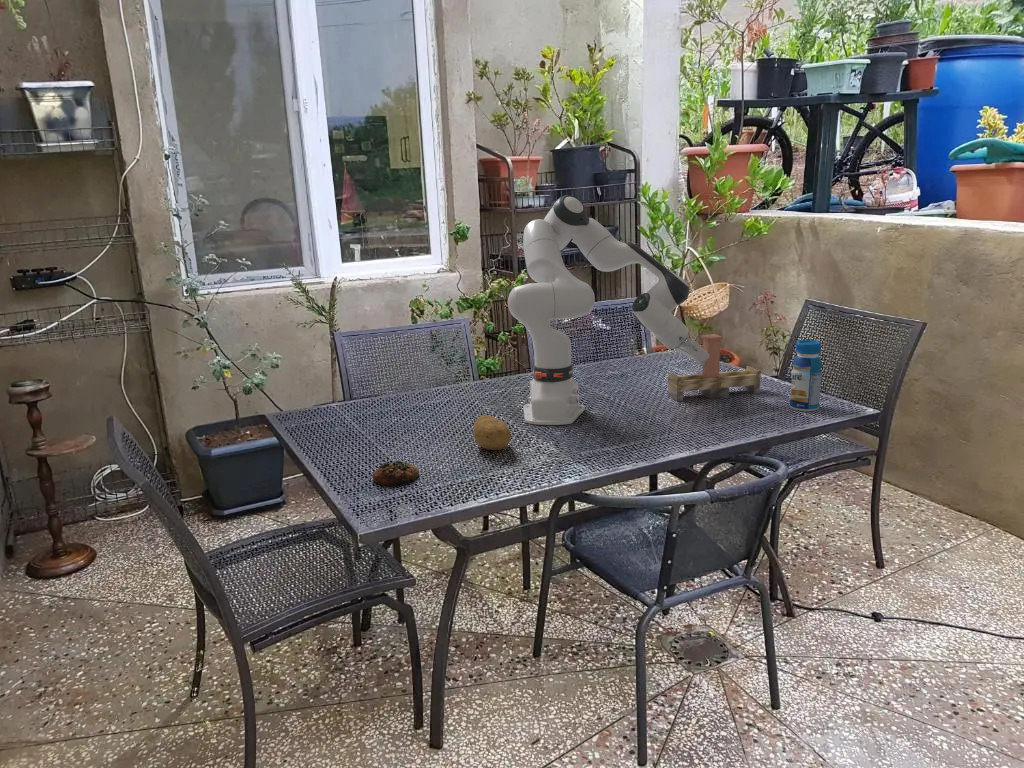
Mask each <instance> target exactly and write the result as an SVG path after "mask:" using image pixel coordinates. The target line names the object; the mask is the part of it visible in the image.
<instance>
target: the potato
mask: <svg viewBox="0 0 1024 768" xmlns="http://www.w3.org/2000/svg"><path fill="white" fill-rule="evenodd" d="M472 430H473V437H474V439H475V442H476V444H477V445H479V447H482V448H484V449H485V450H492V451H500V450H502V449H504V448H506V447H507V446H508V445H509V443H510V442H511V437H512V433H511V431H510V429H509V427H508V426H507V424H506V423H505V422H504V421H502V420H500V419H498V418H497V417H495V416H492V415H487V414H486V415H485V414H484V415H481V416H478V418H477V419H476V420H475V421H474V424H473V429H472Z"/></svg>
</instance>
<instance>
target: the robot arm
mask: <svg viewBox="0 0 1024 768" xmlns="http://www.w3.org/2000/svg"><path fill="white" fill-rule="evenodd" d="M589 214H590V213H589V212H588V211H587V207H586V206H585V205H584V204H583V202H582V201H581V200H580V198H577V197H576V196H573V195H567V194H565V195H563V196H561V197H559V198H558V199H557V200H556V201H555V202H554V203H553V205H552V208H550V210H549V211H548V212H547V214H546V215H545V217H544V218H543V219H539V218H537V219H533V220H531V221H530V222H528V223H527V224H526V226H525V227H524V229H523V237H522V242H523V244H522V246H523V253H524V260H525V265H526V271H527V274H528V276H529V277H530V278H531V279H532V280H533V281H534V282H532V283H525V284H521V285H518V286H514V287H513V288H512V289H511V291H510V292H509V294H508V299H507V307H508V311H509V312H510V314H511V316H512V317H513V318H514V319H516V320H517V321H519V323H521V324H522V325H523V326H524V327H525V328H526V330H527V331H528V333H529V335H530V337H531V340H532V346H533V347H532V348H533V356H534V357H533V359H534V364H533V366H532V378H533V379H532V380H530V381H529V396H528V398H527V401H528V402H529V403H528V404H527V403H526V404H523V407H522V408H523V416H524V417H523V418H524V422H525V423H526V424H531V425H539V426H562V425H570V424H573V423H574V422H575V421H576V420H577V419H578V418H579V417H580V415H581V414H582V413H583V412H584V411H585V410H586V408H585V407H586V406H584V405H583V404H580V401H579V400H580V399H579V383H578V382H577V381H576V380H575V379H574V377H573V376H574V367H573V366H574V365H573V363H572V343H571V340H570V339H571V338H570V337H569V335H567V334H566V333H564V332H563V331H560V330H559V329H555V328H553V326H551V321H552V320H567V319H569V320H570V319H576V318H580V317H584V316H588V315H589V314H590V313H591V312H592V311H593V309H594V306H595V301H596V298H595V296H596V295H595V293H594V290H593V288H592V287H591V285H589V284H588V282H585V281H582V280H580V279H579V278H577V277H576V276H574V275H573V274H572V273H571V272H570V271H569V270H568V268H567V267H566V265H565V263H564V260H563V257H562V252H563V251H565V249H566V247H567V246H568V244H569V243H570V242H571V243H573V244H575V245H576V246H577V248H578V249H579V251H580V252H581V253H582V254H583V256H584V258H586V259H587V260H588V262H589V263H590V264H591V265H592V266H593V267H594V268H595V269H597V270H598V271H600V272H603V273H604V272H606V273H608V272H614V271H617V270H620V269H622V268H624V267H627V266H630V265H634V264H637V265H638V264H639V265H640V266H643V268H646V269H647V270H648V272H650V273H652V274H653V275H654V276H656V278H658V281H657V282H656V283H655V284H654V285H653V286H652V287H650V289H649V290H647V292H643V293H642V294H639V295H638V296H637V297H636V298H635V299H634V301H633V302H632V305H631V311H632V313H633V317H634V320H636V322H638V323H639V324H640V325H641V326H642V327H643V328H644V329H646V330H648V331H649V332H652V333H653V334H654V335H655V338H656V339H657V340H658V341H659V342H660V343H661V344H662V345H663V346H664V347H665V348H666V349H668V350H674V351H676V352H678V353H679V354H682V355H684V356H686V357H687V358H689V359H691V360H694V361H695V362H696V363H697V364H698V365H700V366H703V365H704V364H705V363H706V360H707V359H708V358H709V357H710V356H709V354H708V353H707V352H706V351H705V350H704V349H703V346H701V345H700V344H699V343H698V342H696V341H695V340H694V339H692V338H690V334H689V333H690V330H689V329H690V328H689V327H688V326H687V325H685V323H684V322H683V321H682V320H681V319H679V318H678V316H675V315H674V314H672V312H673V310H674V309H675V308H677V307H678V306H680V305H681V304H682V303H684V302H686V301H687V299H689V295H690V286H689V284H688V283H687V281H686V280H685V279H684V278H683V277H682V276H680V275H678V274H677V273H676V272H673V271H671V270H670V269H668V268H667V267H666V266H664V265H663V264H662V263H661V262H660V261H658V260H657V259H656V258H655V257H653V256H652V255H650V254H649V253H648V252H646V251H645V250H643V248H642V247H640V246H639V245H637V244H636V243H634V242H630V241H628V242H622V241H619V240H618V239H616V238H615V237H614V235H613V234H612V233H611V232H610V231H609V230H608V229H607V228H606V227H605V226H603V225H602V224H601V223H600V222H599V221H597V220H596V219H595V218H592V217H590V215H589ZM535 282H536V283H535Z"/></svg>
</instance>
